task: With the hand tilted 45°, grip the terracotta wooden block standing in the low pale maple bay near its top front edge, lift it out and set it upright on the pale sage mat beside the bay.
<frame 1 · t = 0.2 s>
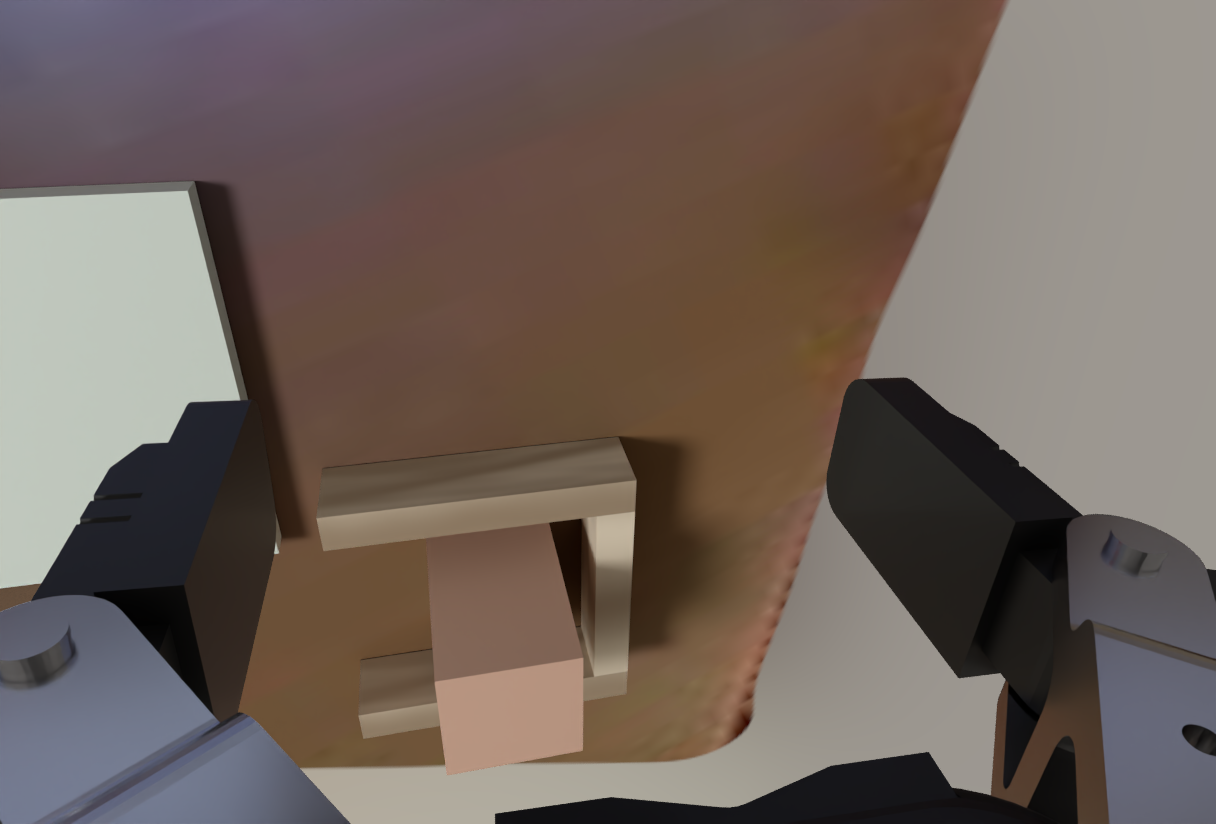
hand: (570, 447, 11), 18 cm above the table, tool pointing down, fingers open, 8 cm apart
maple bay: (490, 566, 36), on the table
sage mat: (19, 401, 27), on the table
terracotta block: (500, 633, 32), in the maple bay
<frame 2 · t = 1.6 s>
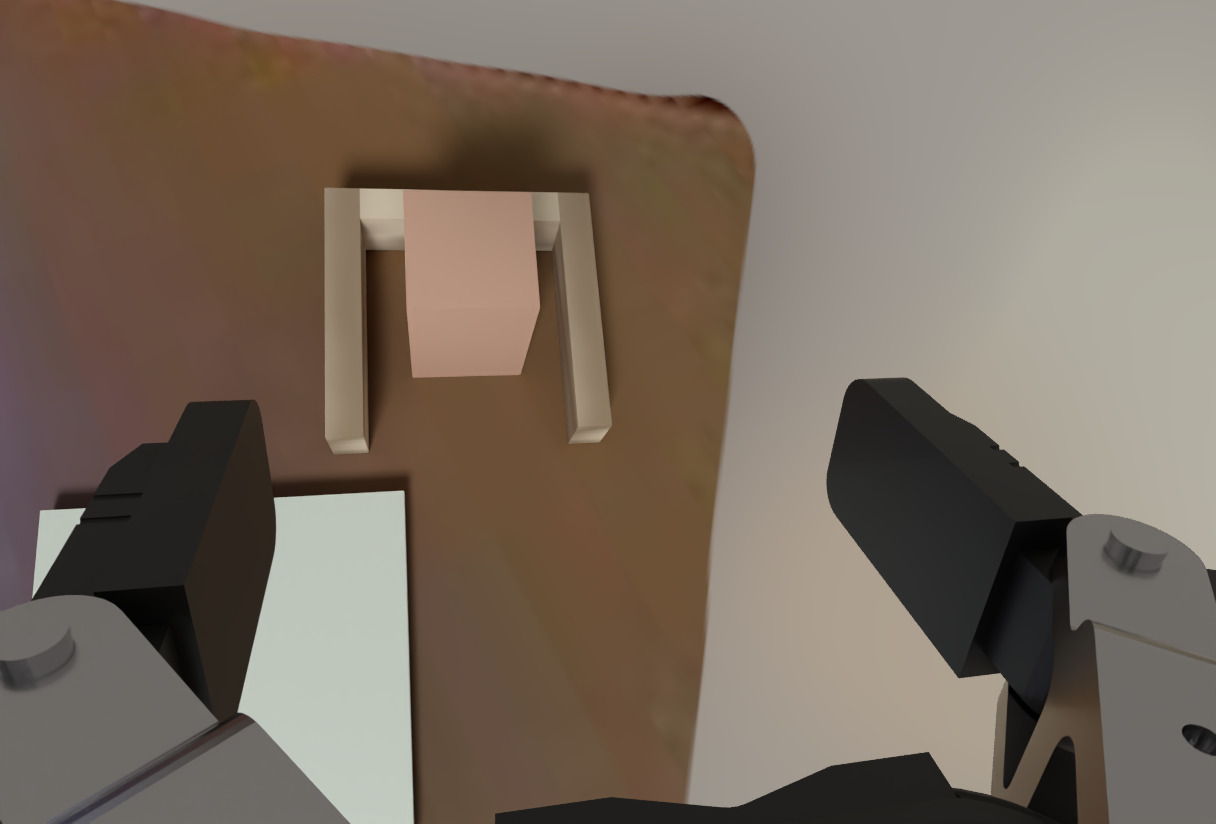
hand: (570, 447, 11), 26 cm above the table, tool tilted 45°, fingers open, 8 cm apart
maple bay: (464, 326, 39), on the table
sage mat: (231, 676, 33), on the table
terracotta block: (467, 291, 36), in the maple bay
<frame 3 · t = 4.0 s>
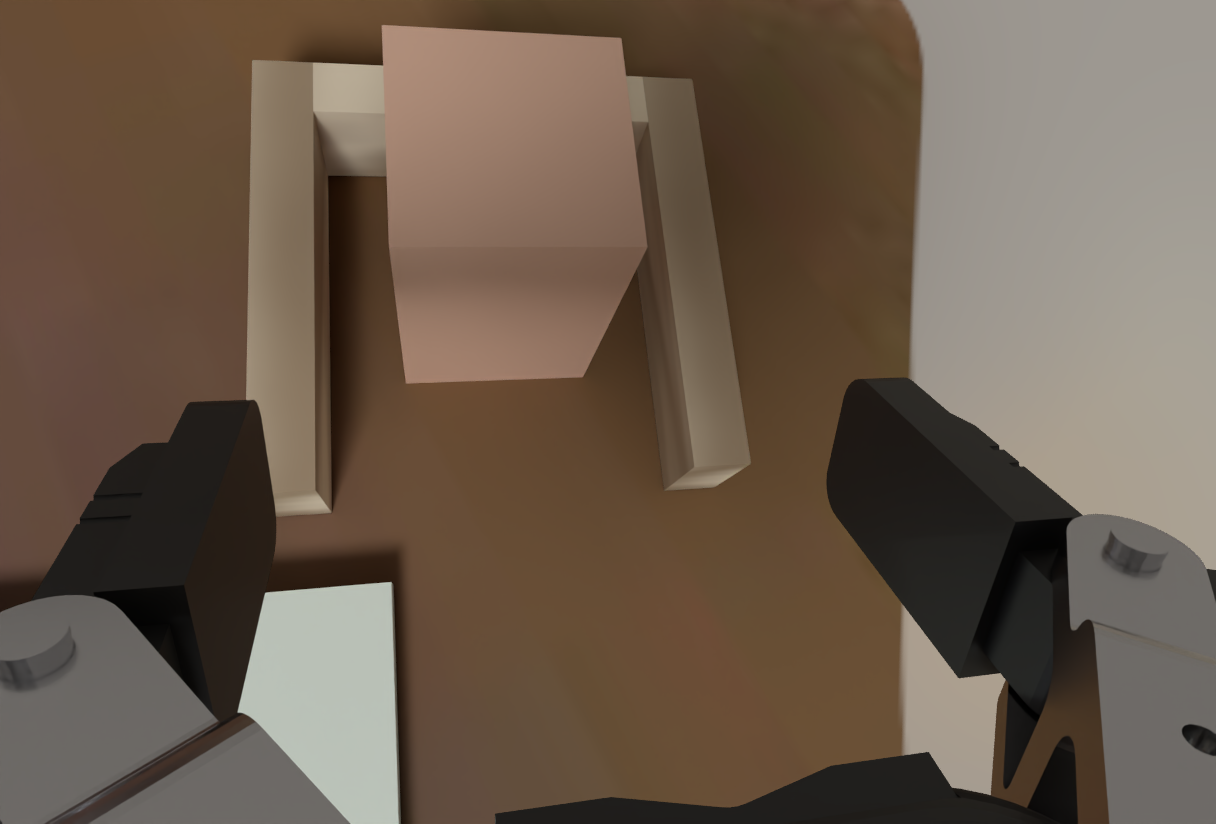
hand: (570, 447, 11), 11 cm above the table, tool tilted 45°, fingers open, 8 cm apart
maple bay: (490, 298, 24), on the table
terracotta block: (500, 232, 20), in the maple bay
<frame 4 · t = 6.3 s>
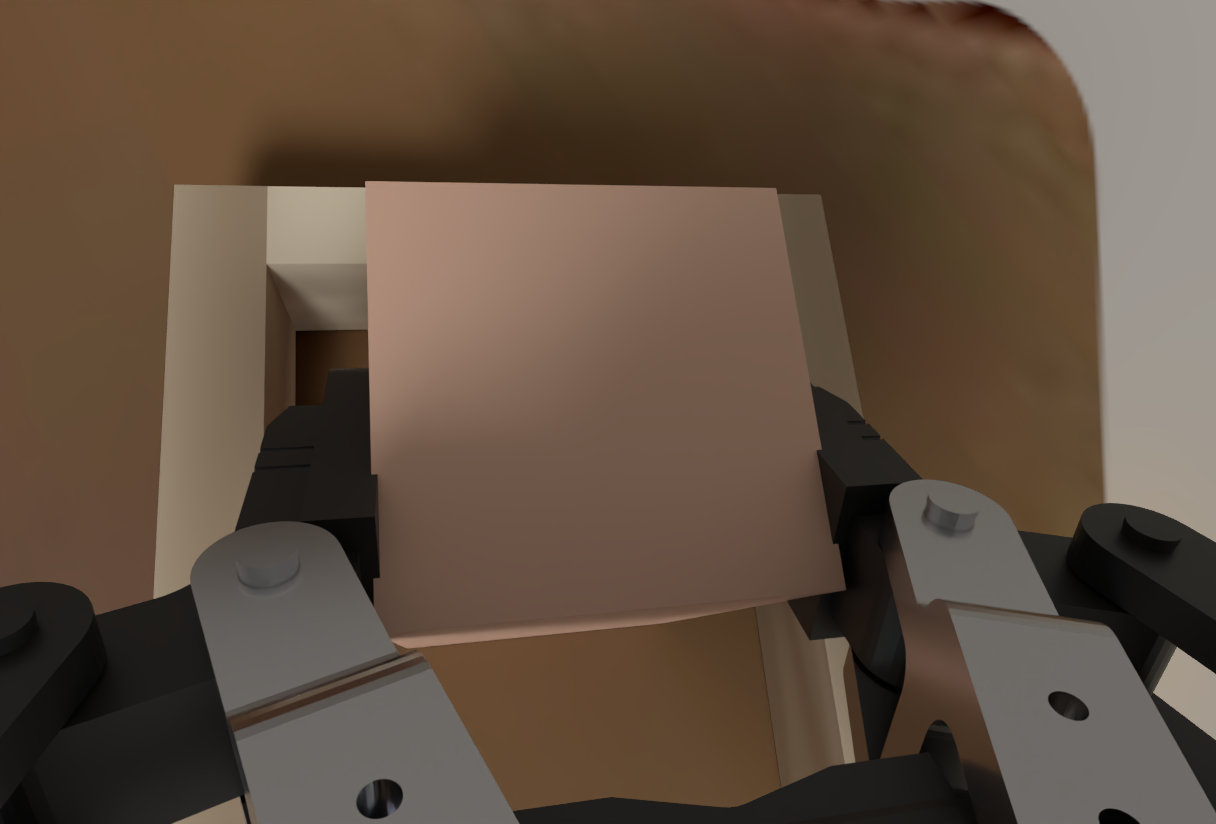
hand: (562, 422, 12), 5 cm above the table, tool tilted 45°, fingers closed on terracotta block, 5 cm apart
maple bay: (529, 509, 17), on the table
terracotta block: (555, 463, 13), in the maple bay, touching gripper
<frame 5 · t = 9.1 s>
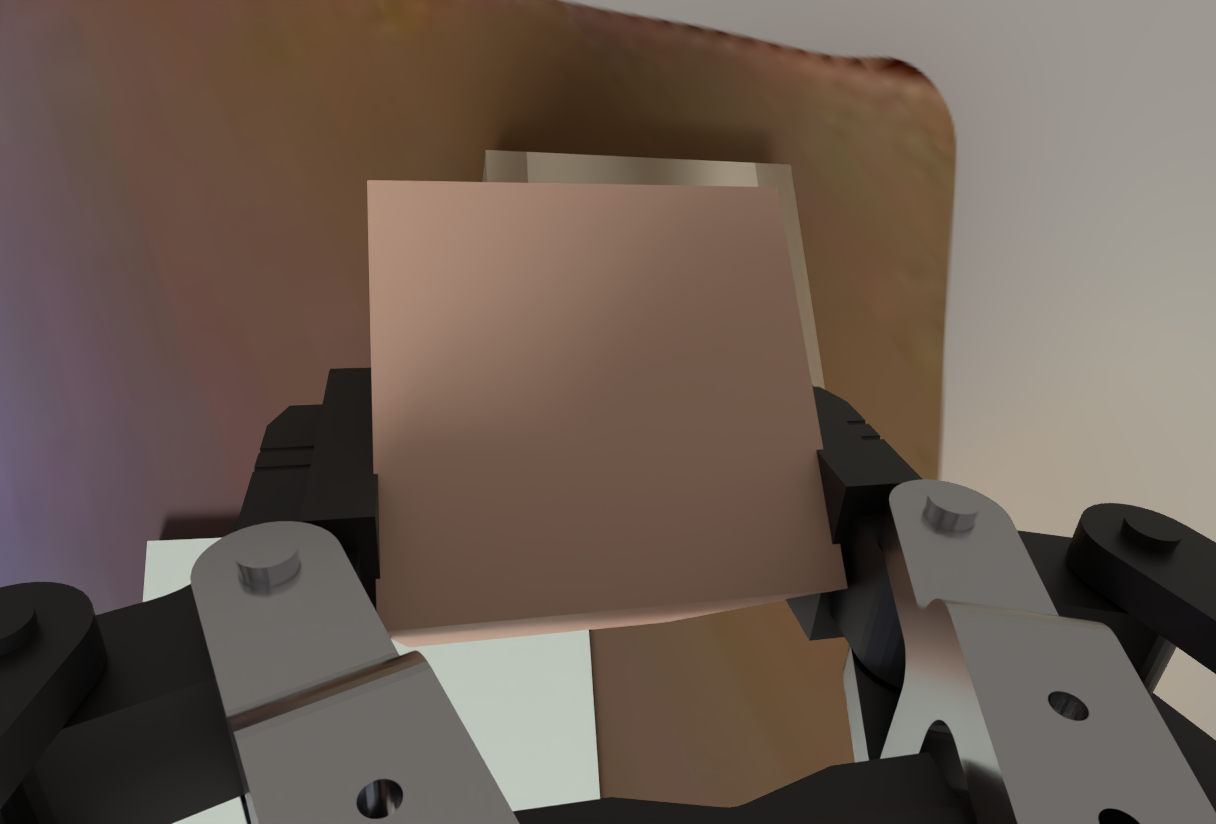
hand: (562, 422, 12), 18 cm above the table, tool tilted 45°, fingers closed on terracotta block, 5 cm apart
maple bay: (638, 321, 33), on the table
sage mat: (377, 751, 27), on the table
terracotta block: (556, 462, 13), point 17 cm above the table, touching gripper
when the fingers open (8 cm above the table, at t = 12.0 s): terracotta block drops 1 cm, resting on sage mat.
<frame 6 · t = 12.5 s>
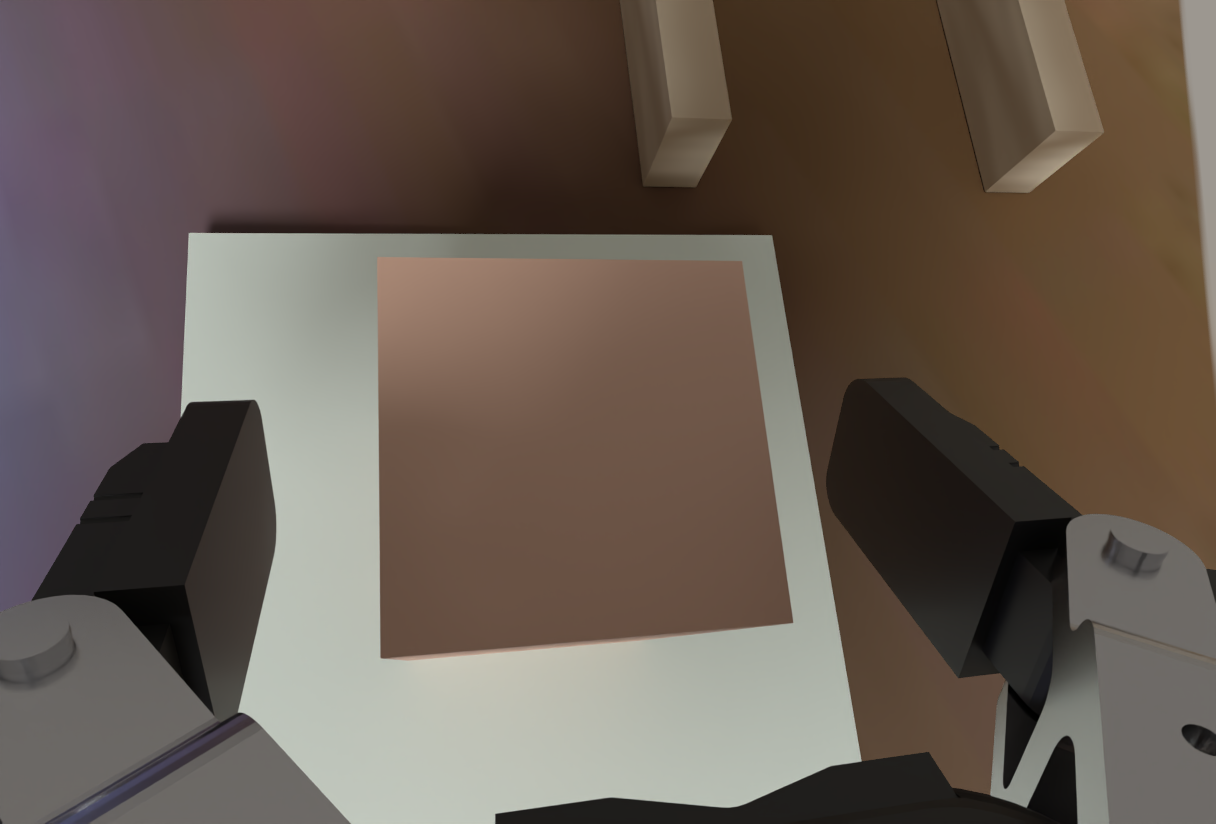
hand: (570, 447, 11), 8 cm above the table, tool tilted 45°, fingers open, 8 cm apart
maple bay: (811, 16, 25), on the table
sage mat: (518, 528, 19), on the table
terracotta block: (545, 496, 14), on the sage mat, point 5 cm above the table
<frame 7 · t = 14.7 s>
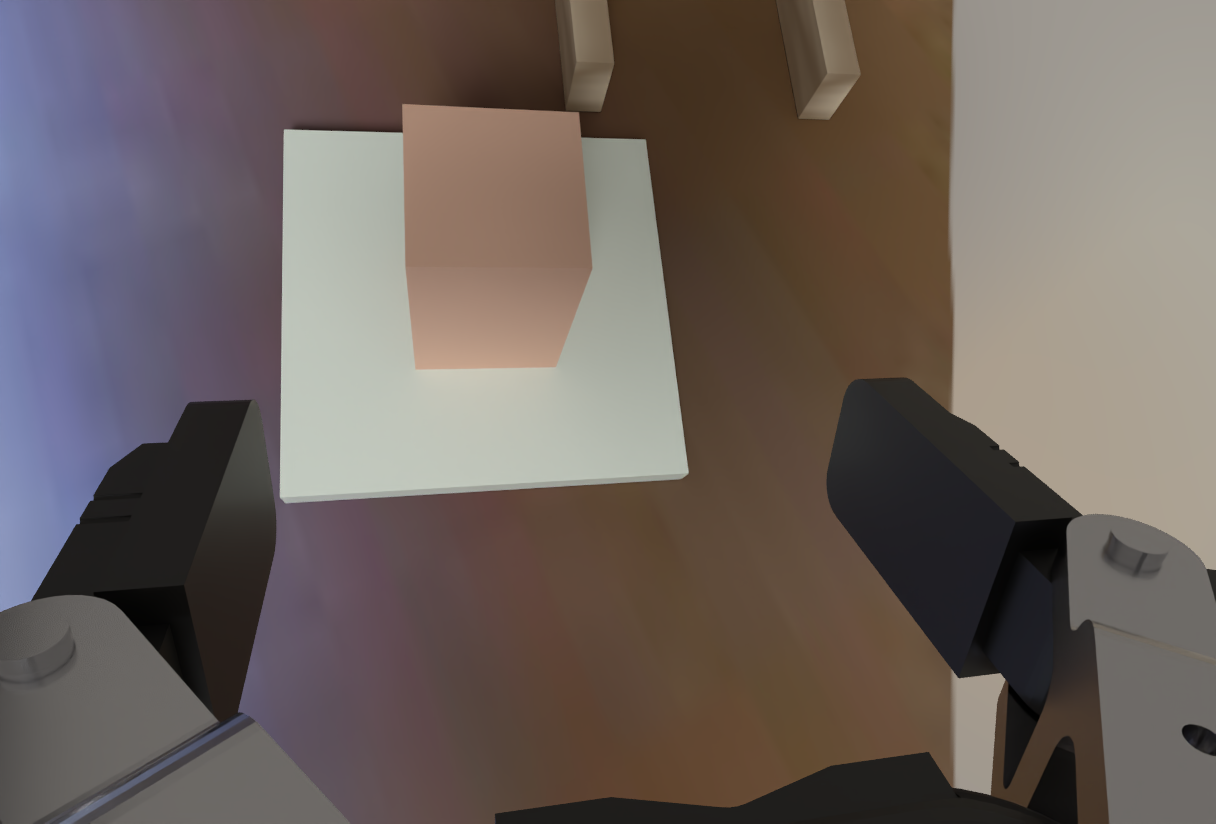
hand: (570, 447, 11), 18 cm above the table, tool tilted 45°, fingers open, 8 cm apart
maple bay: (684, 2, 38), on the table
sage mat: (481, 309, 31), on the table
terracotta block: (489, 253, 27), on the sage mat, point 5 cm above the table
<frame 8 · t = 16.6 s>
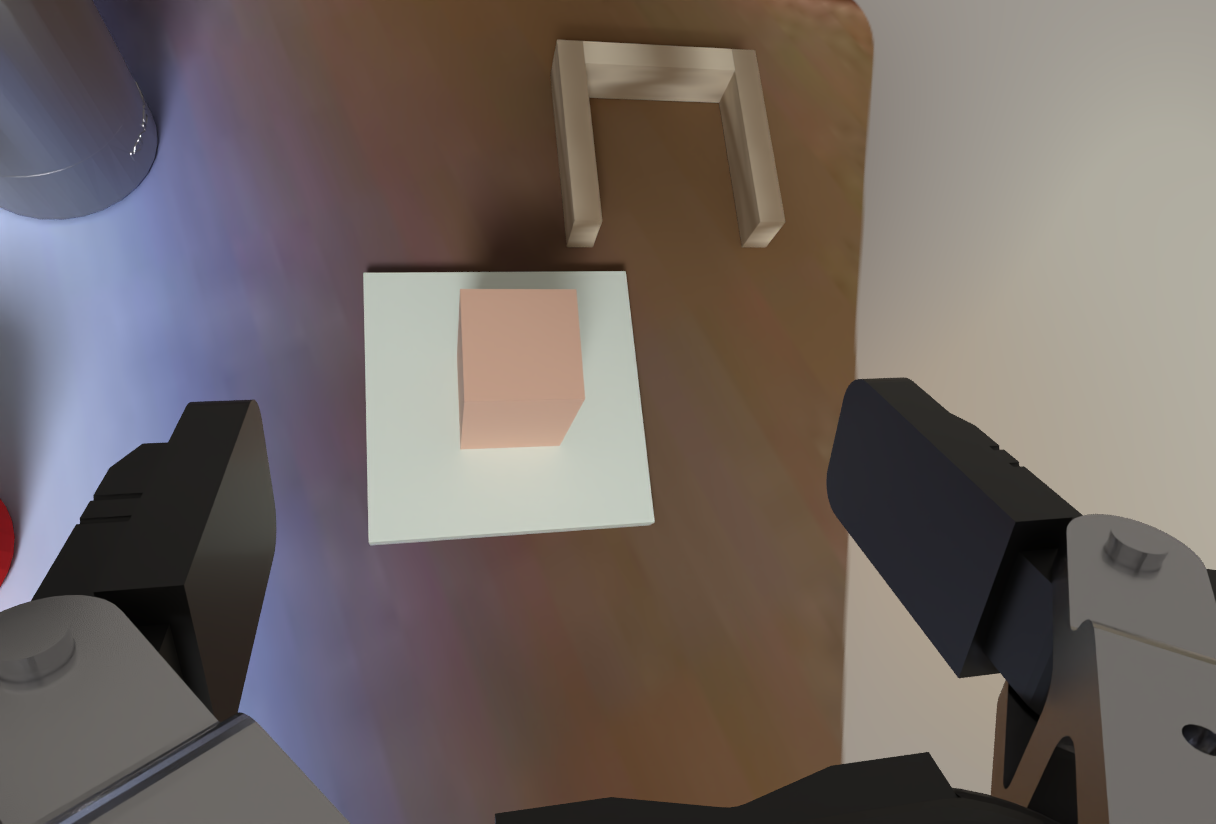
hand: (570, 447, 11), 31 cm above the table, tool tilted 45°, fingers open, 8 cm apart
maple bay: (656, 156, 49), on the table
sage mat: (506, 401, 43), on the table
terracotta block: (514, 374, 39), on the sage mat, point 5 cm above the table
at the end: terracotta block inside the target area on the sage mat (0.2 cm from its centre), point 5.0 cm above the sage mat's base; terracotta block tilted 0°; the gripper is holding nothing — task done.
